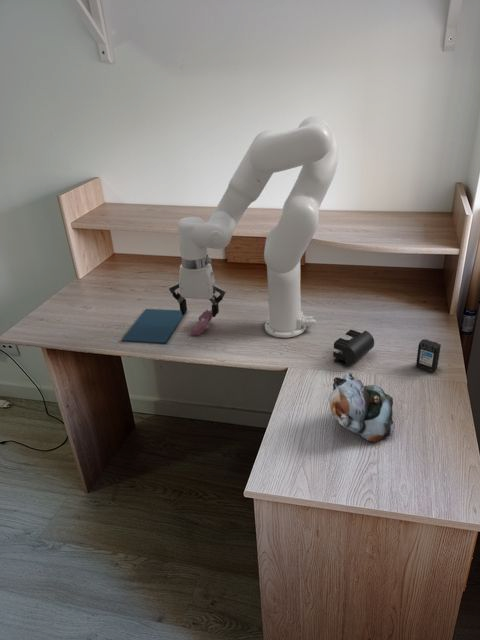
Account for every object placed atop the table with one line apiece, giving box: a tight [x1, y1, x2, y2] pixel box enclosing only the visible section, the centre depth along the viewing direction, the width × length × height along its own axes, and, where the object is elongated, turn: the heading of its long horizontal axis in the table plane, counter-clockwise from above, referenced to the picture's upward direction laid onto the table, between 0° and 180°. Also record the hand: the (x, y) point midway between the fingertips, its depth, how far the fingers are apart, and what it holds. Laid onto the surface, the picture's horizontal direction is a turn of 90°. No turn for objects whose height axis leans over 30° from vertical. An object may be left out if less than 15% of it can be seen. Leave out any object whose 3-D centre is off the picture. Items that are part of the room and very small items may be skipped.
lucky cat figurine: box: [328, 372, 395, 443], centre depth 115 cm, size 15×12×14 cm
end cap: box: [332, 329, 375, 367], centre depth 140 cm, size 10×7×7 cm
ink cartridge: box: [415, 338, 442, 374], centre depth 134 cm, size 5×2×8 cm, turn 51°
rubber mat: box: [121, 308, 186, 345], centre depth 163 cm, size 14×20×1 cm
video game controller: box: [190, 308, 214, 336], centre depth 159 cm, size 10×5×7 cm, turn 168°
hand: (199, 313), depth 157 cm, fingers open, 9 cm apart
